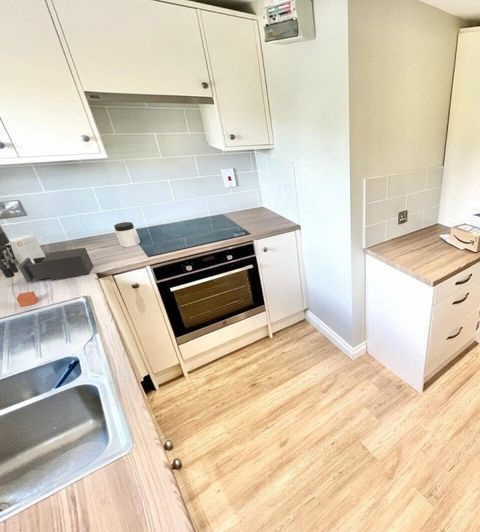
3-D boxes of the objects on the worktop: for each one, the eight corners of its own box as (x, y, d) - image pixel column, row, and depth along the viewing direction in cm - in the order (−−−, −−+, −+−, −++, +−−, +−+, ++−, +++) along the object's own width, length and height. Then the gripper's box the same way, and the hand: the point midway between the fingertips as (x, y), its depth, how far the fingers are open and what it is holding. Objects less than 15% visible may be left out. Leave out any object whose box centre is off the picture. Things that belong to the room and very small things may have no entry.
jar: (134, 247, 180) (127, 226, 174) (118, 247, 178) (110, 227, 173) (143, 240, 188) (135, 221, 182) (127, 241, 186) (119, 221, 181)
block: (21, 306, 127) (15, 298, 125) (24, 302, 130) (19, 293, 128) (35, 304, 129) (30, 295, 127) (38, 299, 132) (33, 291, 130)
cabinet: (51, 281, 145) (41, 261, 141) (58, 271, 153) (48, 252, 149) (89, 274, 151) (80, 255, 147) (93, 265, 159) (85, 247, 155)
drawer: (10, 285, 139) (0, 269, 135) (18, 276, 146) (8, 260, 142) (62, 276, 147) (54, 261, 143) (68, 268, 154) (60, 253, 151)
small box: (39, 257, 165) (26, 233, 159) (47, 259, 164) (34, 235, 158) (18, 263, 159) (4, 239, 153) (27, 265, 157) (13, 241, 151)
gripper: (-19, 228, 119) (6, 269, 127) (-38, 241, 109) (-10, 285, 117) (10, 225, 123) (32, 265, 131) (-6, 237, 112) (20, 280, 120)
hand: (12, 274), depth 124 cm, fingers open, 3 cm apart
